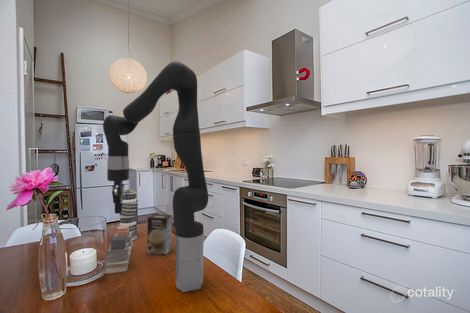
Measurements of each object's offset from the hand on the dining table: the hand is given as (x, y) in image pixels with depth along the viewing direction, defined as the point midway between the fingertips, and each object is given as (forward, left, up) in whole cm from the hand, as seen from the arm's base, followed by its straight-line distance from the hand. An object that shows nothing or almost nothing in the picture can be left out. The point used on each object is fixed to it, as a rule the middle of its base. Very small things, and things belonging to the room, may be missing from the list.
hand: (118, 212), depth 90 cm
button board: (+7, 0, -21) cm, 22 cm away
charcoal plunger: (0, 0, -15) cm, 15 cm away
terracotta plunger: (+14, 0, -15) cm, 20 cm away
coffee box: (+9, -15, -21) cm, 28 cm away
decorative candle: (+31, 0, -21) cm, 38 cm away
